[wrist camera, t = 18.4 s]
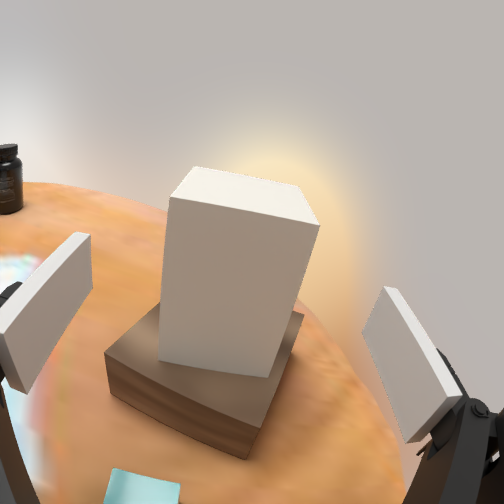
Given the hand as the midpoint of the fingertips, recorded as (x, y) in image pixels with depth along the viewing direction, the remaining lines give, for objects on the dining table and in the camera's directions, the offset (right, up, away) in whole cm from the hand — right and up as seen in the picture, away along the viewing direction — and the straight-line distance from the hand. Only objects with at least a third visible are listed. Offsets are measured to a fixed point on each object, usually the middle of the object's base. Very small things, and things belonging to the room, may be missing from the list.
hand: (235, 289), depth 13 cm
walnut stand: (-3, -9, +14) cm, 17 cm away
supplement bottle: (-45, +10, +33) cm, 57 cm away
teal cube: (-6, -16, +1) cm, 17 cm away
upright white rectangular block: (-2, -5, +12) cm, 13 cm away
